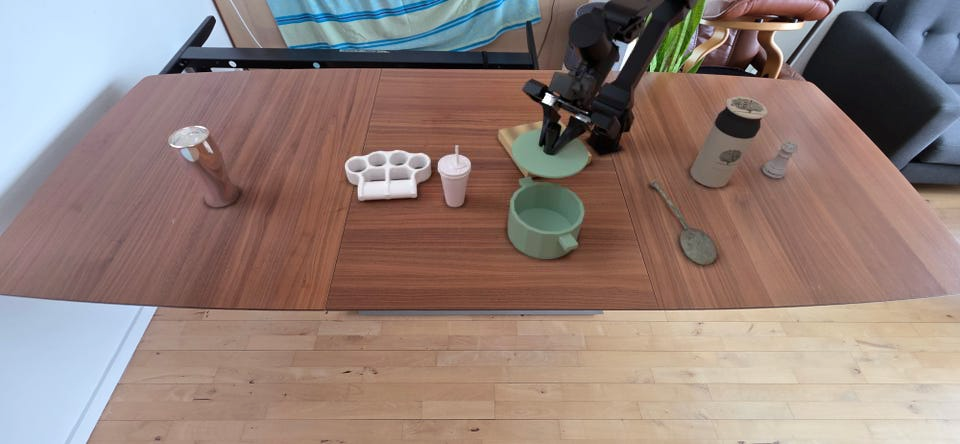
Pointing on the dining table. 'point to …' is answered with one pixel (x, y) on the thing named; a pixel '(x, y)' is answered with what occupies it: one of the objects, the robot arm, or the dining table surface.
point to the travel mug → (728, 141)
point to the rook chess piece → (780, 161)
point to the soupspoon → (692, 237)
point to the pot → (544, 219)
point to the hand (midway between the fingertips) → (546, 149)
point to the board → (510, 135)
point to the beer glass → (204, 164)
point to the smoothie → (454, 177)
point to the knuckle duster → (388, 174)
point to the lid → (549, 154)
